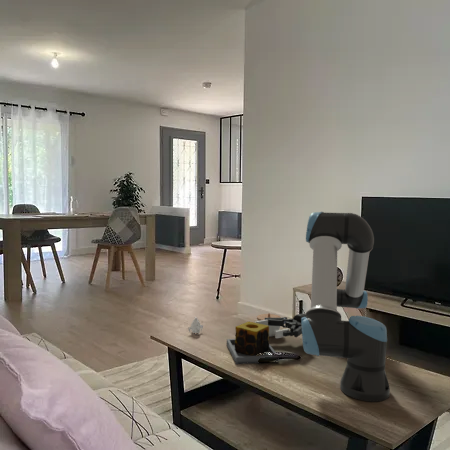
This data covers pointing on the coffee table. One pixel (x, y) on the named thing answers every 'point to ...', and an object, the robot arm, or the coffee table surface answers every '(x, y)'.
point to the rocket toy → (195, 326)
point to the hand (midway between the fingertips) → (264, 329)
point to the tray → (243, 358)
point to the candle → (252, 338)
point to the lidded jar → (271, 328)
